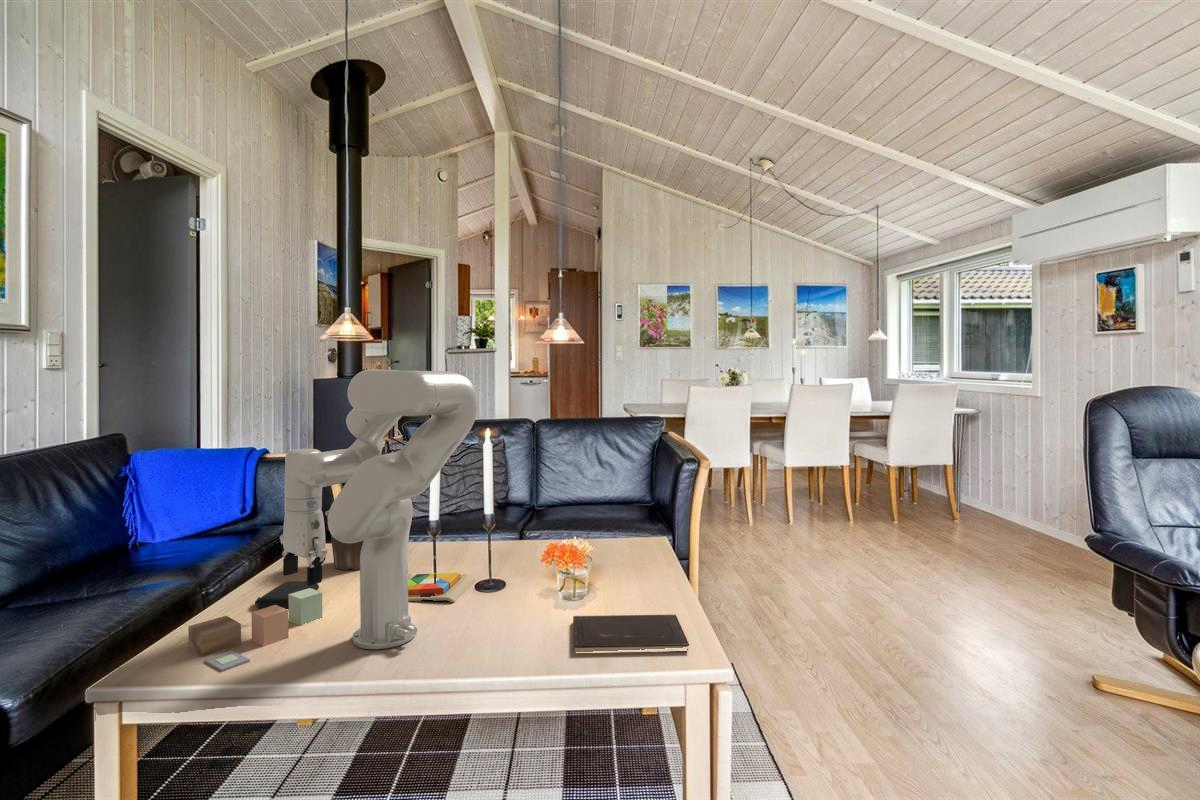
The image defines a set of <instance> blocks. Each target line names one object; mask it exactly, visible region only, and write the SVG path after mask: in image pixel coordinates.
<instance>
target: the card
mask: <svg viewBox="0 0 1200 800" xmlns="http://www.w3.org/2000/svg"><path fill="white" fill-rule="evenodd" d="M203 662H204V663H205V664H207V665H209V666H211V667H213V668H215V669H217V670H219V671H220V672H224V671H227V670H230V669H233V668H235V667H238V666H242V665H244V664H247V663H249V662H251V659H250V658H248V657H247V656H245V655H242V654H240V653H238V652H236V651H234V650H233V649H231V650H229V651H225V652H223V653H219V654H216V655H215V656H214V655H213V656H211V657H208V658H205V659H204V661H203Z"/></svg>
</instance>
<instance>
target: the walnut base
mask: <svg viewBox="0 0 1200 800" xmlns="http://www.w3.org/2000/svg"><path fill="white" fill-rule="evenodd" d="M187 629H188V631H187V633H188V648H189V649H190V650H192V651H193V652H195V653H197V654H198V655H199V656H201V657H202V658H203V657H206V656H210V655H213V654H216V653H219V652H222V651H225V650H228V649H232V648H234V647H238V646H241V645H242V624H241V622H239V621H237V620H235V619H233V618H232V617H229V616H228V615H223V616H221V617H216V618H213V619H210V620H205V621H203V622H202V621H201V622H198V623H195V624H191V625H188V628H187Z"/></svg>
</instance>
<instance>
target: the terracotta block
mask: <svg viewBox="0 0 1200 800" xmlns="http://www.w3.org/2000/svg"><path fill="white" fill-rule="evenodd" d="M286 639H289V610H287V609H285V608H282V607H280V606H277V605H273V606H270V607H267V608H263V609H258V610H254V611H251V642H253V643H254V642H255V643H256V644H258V645H261V646H262V647H266V646H269V645H272V644H276V643H278V642H281V641H284V640H286Z"/></svg>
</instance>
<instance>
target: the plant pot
mask: <svg viewBox="0 0 1200 800" xmlns="http://www.w3.org/2000/svg"><path fill="white" fill-rule="evenodd" d="M329 510H330V509H329ZM329 510H327V511H325V513H324V514H325V516H326V518H327V520H328V514H329ZM330 540H331V547H332V549H331V550H332V555H333V556H332V558H333V566H334V568H335V569H338V570H341V571H348V570H350V569H351V570H353V571H358V570H359V571H360V554H361V548H362V545H363V542H364V540H363V541H360V542H356V543H343V542H340V541H338V540H336V539H335V538H334V537H333V536H332V534H331V533H330Z"/></svg>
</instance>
